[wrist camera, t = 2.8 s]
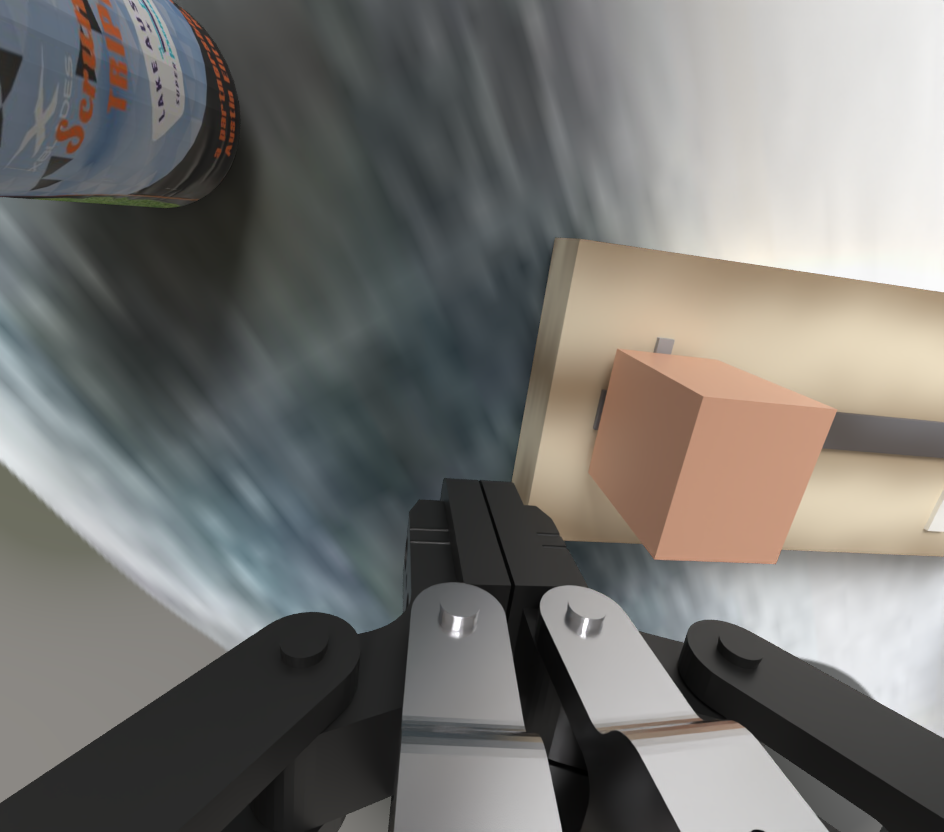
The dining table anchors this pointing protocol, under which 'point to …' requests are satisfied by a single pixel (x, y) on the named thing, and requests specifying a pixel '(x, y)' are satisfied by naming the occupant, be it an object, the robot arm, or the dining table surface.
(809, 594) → the dining table surface
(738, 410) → the fader tab
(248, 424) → the dining table surface
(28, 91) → the beverage can
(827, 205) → the dining table surface
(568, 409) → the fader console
